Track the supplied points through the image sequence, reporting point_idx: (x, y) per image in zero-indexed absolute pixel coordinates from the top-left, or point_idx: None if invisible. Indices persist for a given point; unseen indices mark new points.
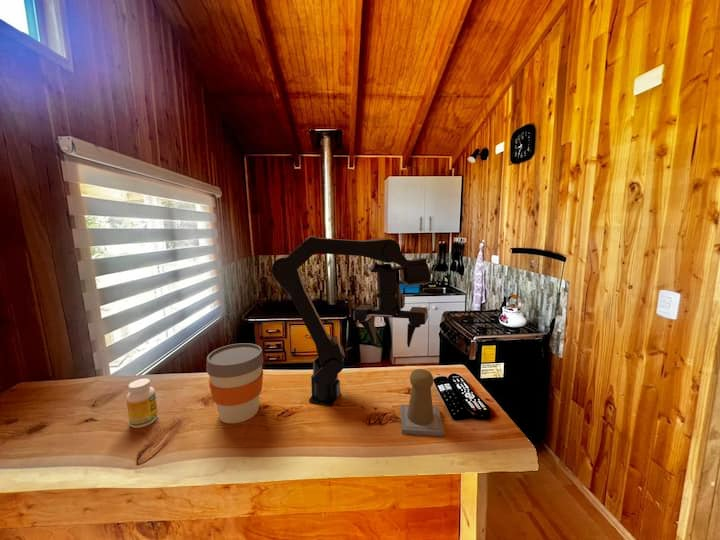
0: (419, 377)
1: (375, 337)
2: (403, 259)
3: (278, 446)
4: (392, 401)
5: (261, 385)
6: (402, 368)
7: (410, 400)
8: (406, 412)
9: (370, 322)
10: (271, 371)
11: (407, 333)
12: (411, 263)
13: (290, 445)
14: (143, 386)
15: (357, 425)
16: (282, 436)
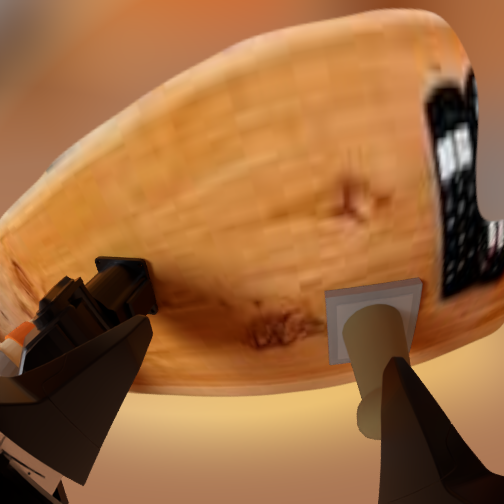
0: (380, 439)
1: (128, 352)
2: None
3: (152, 384)
4: (298, 267)
5: None
6: (297, 38)
7: (353, 370)
8: (340, 324)
9: (68, 464)
10: (9, 217)
11: (379, 491)
12: None
13: (164, 384)
14: None
15: (236, 352)
16: (143, 372)
